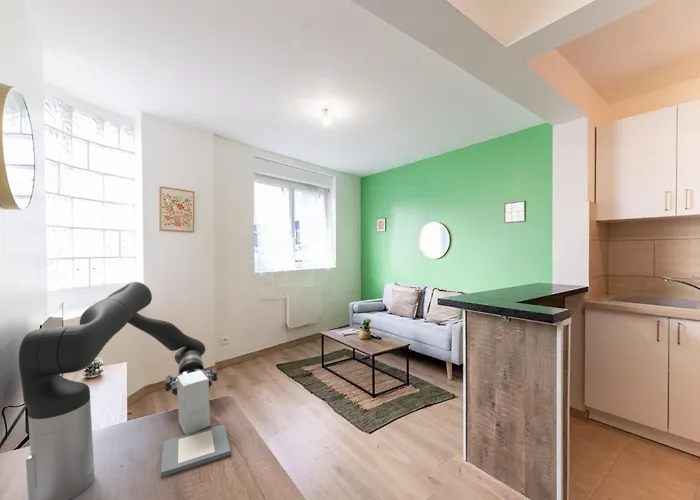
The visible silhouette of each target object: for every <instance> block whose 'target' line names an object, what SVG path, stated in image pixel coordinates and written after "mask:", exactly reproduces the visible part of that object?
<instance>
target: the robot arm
mask: <svg viewBox="0 0 700 500" xmlns="http://www.w3.org/2000/svg"><path fill="white" fill-rule="evenodd" d="M152 300H153V294H152V292H151V290H150V288H149V287H148V286H147V285H146V284H144V283H142V282H138V281H132V282H129V283H128V284H125V285H124V286H123V287H120V288H119V289H117V290H115V291H114V292H112V293H111V294H109V295H108V296H107V297H105V298H103V299H101V300H98V301H97V302H95V303H94V304H92V305H90V306H89V307H88V308H87V309H85V310H84V312H83V313H82V314H81V315H80V318H79V324H76V325H65V326H55V327H42V328H37V329H36V328H35V329H34V330H31V331H29V332H28V333H27V334H25V336H24V337H23V338H22V341H21V343H20V345H19V350H18V369H19V373H20V381H21V388H22V396H23V403H24V405H25V407H26V409H27V419H28V434H29V449H30V450H29V451H30V453H29V455H28V456H27V458H26V460H25V467H26V470H25V471H26V484H27V500H69V499H70V500H72V499H74V498H76V497H78V496H80V494H82V493H84V492H85V491H86V490H87V489H88V488H89V487H90V486H91V485H92V484H93V482H94V480H95V463H94V461H95V460H94V444H93V443H94V442H93V426H92V409H91V408H92V407H91V406H92V405H91V389H90V386H89V385H88V384H86V383H84V382H82V381H81V382H80V381H74V380H70V379H67V378H66V377H63V376H61V375H62V374H64V375H65V374H71V373H77V372H79V371H82V370H85V369H86V368H87V367H89V366H90V365H91V364H93V362H94V361H95V359H96V358H97V357H98V355H100V353H101V351H102V350H103V348H104V347H105V346H106V345H107V343H109V342H110V340H111V339H112V338H113V337H114V336H115V335H116V334H118V332H120V331H121V330H122V329H123V328H124V327H125V326H126V325H127V324H129V325H131V326H133V327H134V328H136V329H138V330H139V331H142V332H144V333H146V334H147V335H149V336H151V337H152V338H154V339H155V340H157V341H158V342H159V343H160V344H161V345H163V346H164V347H165V348H166V349H167V350H168V351H171V352H176V351H177V352H176V353H175V355H174V361H175V362H176V363H177V365H178V374H177V375H176V376H172V375H170V374H169V375H167V376H166V378H165V383H164V386H165V387H164V392H170V390H171V394H172V395H174V396H178V386H177V376H179V375H183V374H187V373H191V372H195V371H199V370H201V371H202V372H203V373H204V374H205V376H206V377H207V378H208V379H209V389H210V387H211V386H212V385H213V382H217V381H218V372H217V369H216V367H214V366H212V367H210V369H208V370H207V369H205V366H204V361H203V359H202V356H203V355H204V354H205V353H206V346H205V345H204V343H203V342H202V341H200V340H199V339H196V338H194V337H191V336H189V335H187V334H186V333H184V332H183V331H182V330H180V329H179V328H178V327H177V326H176V325H175V324H173V323H172V322H169V321H166V320H163V319H156V318H152V317H148V316H145V315H142V314H140V313H138V312H139V311H141V310H142V309H144V308H146V307H149V305H150V304H151V302H152Z"/></svg>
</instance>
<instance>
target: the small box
mask: <svg viewBox="0 0 700 500" xmlns="http://www.w3.org/2000/svg"><path fill="white" fill-rule="evenodd" d="M178 375H179V374H178ZM176 377H177V386H178V392H177V412H178V413H177V414H178V424H179V425H180V427H181V430H182V432H183V433H184V435H187V434H191V433H194V432H198V431H201V430H202V429H203V430H204V429H205V428H206V429H207V428H209V427H211V407H210V404H211V403H210V388H209V379H208V378H207V377H206V376H205V374H204V373H203V372H202V371H201V370H199V371H195V372H191V373H187V374H183V375H179V376H177V375H176Z"/></svg>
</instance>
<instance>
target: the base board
mask: <svg viewBox="0 0 700 500" xmlns="http://www.w3.org/2000/svg"><path fill="white" fill-rule="evenodd" d="M226 430H227V429H226V425H225V423H223V424H220V425H216V426H213V427H208V428H206V429H205V428H204V429H203V430H202V429H201V430H198V431H195V432H193V433H190V434H187V435H185V434H184V435H179V436H177V437H173V438H170V439H165V440H163V441H162V442H163V443H162V454H161V455H162V456H161V466H160V478H164V477H166V476H170V475H172V474H175V473H178V472H181V471H186V470H189V469H192V468H194V467H197V466H201V465H203V464H206V463H209V462H213V461H216V460H219V459H222V458H225V457H227V456H228V457H229V456H231V455H232V454H231V451H232V450H231V447H230V443H229V439H228V435H227V431H226Z"/></svg>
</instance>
